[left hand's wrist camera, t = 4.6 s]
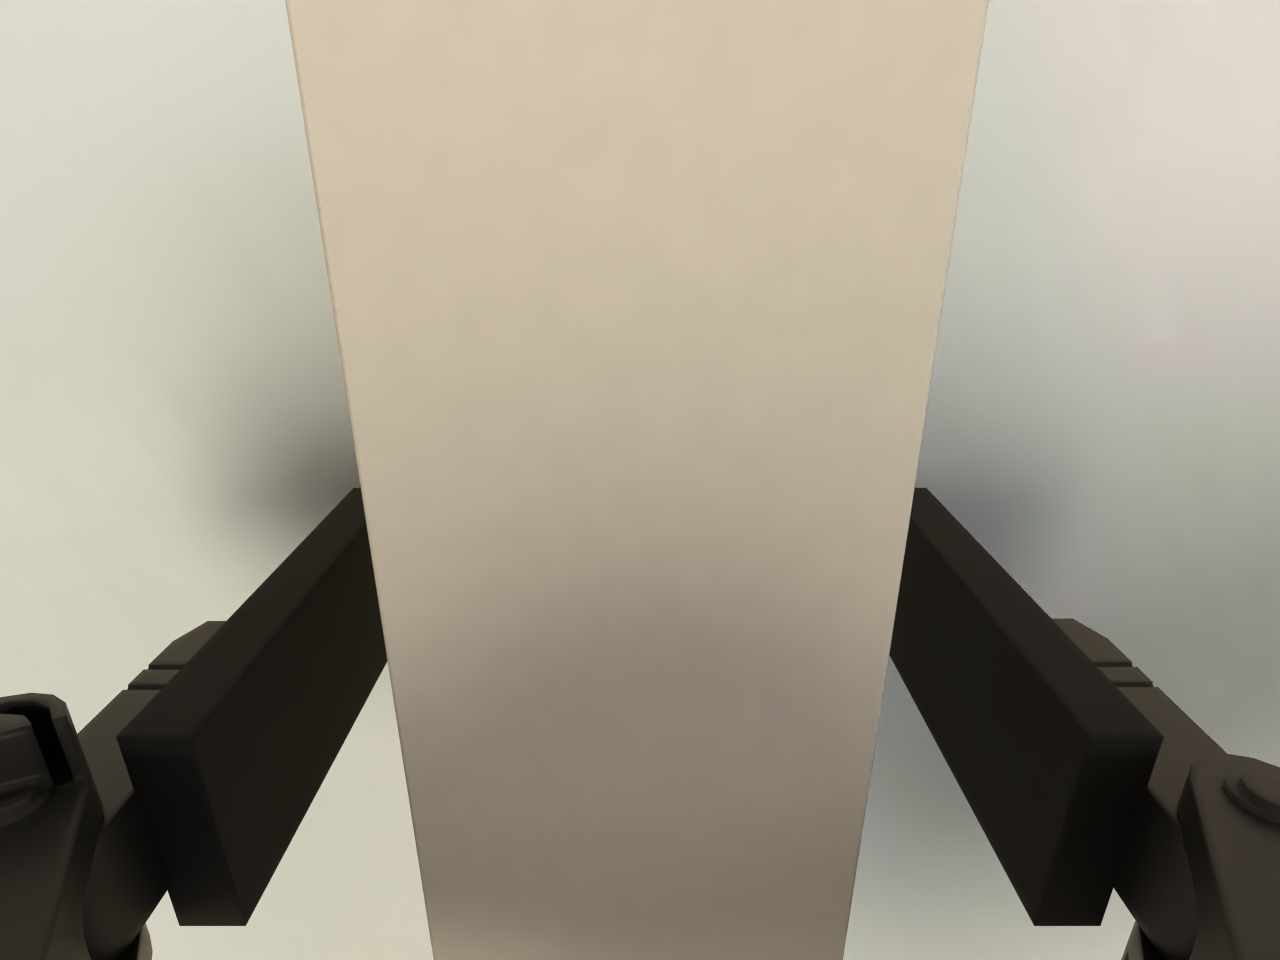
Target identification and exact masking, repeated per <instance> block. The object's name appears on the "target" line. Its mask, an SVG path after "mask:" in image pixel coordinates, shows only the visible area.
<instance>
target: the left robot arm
mask: <svg viewBox="0 0 1280 960" xmlns="http://www.w3.org/2000/svg"><path fill="white" fill-rule="evenodd" d="M889 655H890V657H891V659H892V661H893V663H894V664H895V666H896V668H897V670H898V672H899V674H900V676H901V677H902V679H903V681H904V683H905V685H906V687H907V689H908V691H909V692H910V694H911V696H912V698H913V700H914V702H915V704H916V706H917V707H918V709H919V711H920V713H921V715H922V717H923V719H924V720H925V722H926V724H927V726H928V728H929V730H930V732H931V734H932V735H933V737H934V739H935V741H936V743H937V745H938V747H939V748H940V750H941V752H942V754H943V756H944V758H945V760H946V762H947V763H948V765H949V767H950V769H951V771H952V773H953V775H954V777H955V778H956V780H957V782H958V784H959V786H960V788H961V790H962V791H963V793H964V795H965V797H966V799H967V801H968V803H969V805H970V806H971V808H972V810H973V812H974V814H975V816H976V818H977V819H978V821H979V823H980V825H981V827H982V829H983V831H984V833H985V834H986V836H987V838H988V840H989V842H990V844H991V846H992V848H993V849H994V851H995V853H996V855H997V857H998V859H999V861H1000V862H1001V864H1002V866H1003V868H1004V870H1005V872H1006V874H1007V876H1008V877H1009V879H1010V881H1011V883H1012V885H1013V887H1014V889H1015V890H1016V892H1017V894H1018V896H1019V898H1020V900H1021V902H1022V904H1023V905H1024V907H1025V909H1026V911H1027V913H1028V915H1029V917H1030V919H1031V920H1032V922H1033V924H1034V926H1100V925H1101V922H1102V919H1103V916H1104V913H1105V911H1106V908H1107V905H1108V902H1109V899H1110V896H1111V893H1112V890H1113V887H1114V889H1115V890H1116V892H1117V893H1118V895H1119V896H1120V898H1121V899H1122V901H1123V902H1124V904H1125V905H1126V907H1127V908H1128V909H1129V911H1130V912H1131V914H1132V915H1133V917H1134V918H1135V920H1136V921H1135V923H1134V926H1133V929H1132V932H1131V934H1130V937H1129V940H1128V943H1127V946H1126V948H1125V951H1124V954H1123V957H1122V959H1121V960H1280V768H1279V767H1277V766H1274V765H1271V764H1268V763H1265V762H1262V761H1260V760H1257V759H1254V758H1249V757H1243V756H1237V755H1231V754H1227V753H1226V752H1225V751H1224V750H1223V749H1222V748H1221V747H1219V746H1218V745H1217V744H1216V743H1215V742H1214V741H1213V740H1212V739H1211V738H1210V737H1209V736H1208V735H1207V734H1206V733H1205V732H1204V731H1203V730H1202V729H1201V728H1200V727H1199V726H1198V725H1197V724H1196V723H1195V722H1193V721H1192V720H1191V719H1190V718H1189V717H1188V716H1187V715H1186V714H1185V713H1184V712H1183V711H1182V710H1181V709H1180V708H1179V707H1178V706H1177V705H1176V704H1175V703H1174V702H1173V701H1172V700H1171V699H1170V698H1169V697H1168V696H1166V695H1165V694H1164V693H1163V692H1162V691H1161V690H1160V689H1159V688H1158V687H1153V682H1152V681H1151V680H1150V679H1149V678H1148V677H1147V676H1146V675H1145V674H1144V673H1143V672H1142V671H1140V670H1139V669H1138V668H1137V667H1133V666H1132V662H1131V661H1130V660H1129V659H1128V658H1127V657H1126V656H1125V655H1124V654H1123V653H1122V652H1121V651H1120V650H1119V649H1118V648H1117V647H1116V646H1115V645H1113V644H1112V643H1111V642H1110V641H1109V640H1108V639H1107V638H1105V637H1104V636H1102V635H1100V634H1098V633H1097V632H1095V631H1093V630H1091V629H1090V628H1088V627H1086V626H1084V625H1083V624H1081V623H1079V622H1077V621H1076V620H1074V619H1051V618H1050V617H1049V616H1048V615H1047V614H1046V613H1045V612H1044V611H1043V610H1042V609H1041V608H1040V606H1039V605H1038V604H1037V603H1036V602H1035V601H1034V600H1033V599H1032V598H1031V597H1030V596H1029V595H1028V594H1027V593H1026V592H1025V591H1024V590H1023V589H1022V588H1021V587H1020V586H1019V585H1018V583H1017V582H1016V581H1015V580H1014V579H1013V578H1012V577H1011V576H1010V575H1009V574H1008V573H1007V572H1006V571H1005V570H1004V569H1003V568H1002V567H1001V566H1000V565H999V564H998V563H997V562H996V560H995V559H994V558H993V557H992V556H991V555H990V554H989V553H988V552H987V551H986V550H985V549H984V548H983V547H982V546H981V545H980V544H979V543H978V542H977V541H976V540H975V539H974V537H973V536H972V535H971V534H970V533H969V532H968V531H967V530H966V529H965V528H964V527H963V526H962V525H961V524H960V523H959V522H958V521H957V520H956V519H955V518H954V517H953V516H952V514H951V513H950V512H949V511H948V510H947V509H946V508H945V507H944V506H943V505H942V504H941V503H940V502H939V501H938V500H937V499H936V498H935V497H934V496H933V495H932V494H931V493H930V491H929V490H928V489H927V488H914V494H913V501H912V507H911V514H910V521H909V527H908V534H907V540H906V547H905V553H904V560H903V567H902V573H901V580H900V586H899V593H898V599H897V606H896V613H895V619H894V626H893V632H892V639H891V645H890V652H889ZM387 661H388V660H387V653H386V647H385V640H384V634H383V627H382V621H381V615H380V608H379V602H378V595H377V589H376V582H375V576H374V569H373V563H372V556H371V550H370V543H369V537H368V531H367V524H366V518H365V511H364V505H363V498H362V492H361V488H353V489H352V490H351V491H350V493H349V494H348V495H347V496H346V497H345V498H344V499H343V500H342V501H341V502H340V503H339V504H338V505H337V506H336V507H335V508H334V509H333V510H332V511H331V512H330V513H329V514H328V516H327V517H326V518H325V519H324V520H323V521H322V522H321V523H320V524H319V525H318V526H317V527H316V528H315V529H314V530H313V531H312V532H311V533H310V534H309V535H308V536H307V537H306V539H305V540H304V541H303V542H302V543H301V544H300V545H299V546H298V547H297V548H296V549H295V550H294V551H293V552H292V553H291V554H290V555H289V556H288V557H287V558H286V559H285V560H284V562H283V563H282V564H281V565H280V566H279V567H278V568H277V569H276V570H275V571H274V572H273V573H272V574H271V575H270V576H269V577H268V578H267V579H266V580H265V581H264V582H263V583H262V585H261V586H260V587H259V588H258V589H257V590H256V591H255V592H254V593H253V594H252V595H251V596H250V597H249V598H248V599H247V600H246V601H245V602H244V603H243V604H242V605H241V606H240V608H239V609H238V610H237V611H236V612H235V613H234V614H233V615H232V616H231V617H230V618H229V619H228V620H227V621H207V622H206V623H204V624H202V625H200V626H199V627H197V628H195V629H194V630H192V631H190V632H188V633H187V634H185V635H183V636H181V637H180V638H178V639H176V640H175V641H173V642H172V643H171V644H170V645H169V646H168V647H167V648H166V649H165V650H164V651H163V652H162V653H161V654H160V655H158V656H157V657H156V658H155V659H154V660H153V661H152V662H151V663H150V664H149V668H148V670H143V671H142V672H141V673H140V674H139V675H138V676H137V677H136V678H135V679H134V680H133V681H132V682H131V683H130V684H129V685H128V689H127V690H122V691H121V692H120V693H119V694H118V695H117V696H116V697H115V698H114V699H113V700H112V701H111V702H110V703H109V704H108V705H107V706H106V707H105V708H104V709H103V710H102V711H101V712H100V713H99V714H98V715H97V716H96V717H94V718H93V719H92V720H91V721H90V722H89V723H88V724H87V725H86V726H85V727H84V728H83V729H82V730H81V731H80V732H79V733H78V734H77V733H76V730H75V727H74V725H73V722H72V719H71V716H70V714H69V711H68V708H67V705H66V703H65V702H64V701H62V700H61V699H59V698H57V697H56V696H54V695H50V694H38V693H27V694H20V695H13V696H7V697H1V698H0V960H152V946H151V940H150V934H149V932H148V929H147V926H146V923H145V922H146V921H147V919H148V918H149V917H150V915H151V914H152V912H153V911H154V909H155V908H156V906H157V905H158V903H159V902H160V900H161V899H162V897H163V896H164V894H165V893H166V891H167V890H168V893H169V896H170V899H171V902H172V905H173V907H174V910H175V913H176V916H177V919H178V922H179V925H180V926H246V924H247V922H248V920H249V919H250V917H251V915H252V913H253V911H254V909H255V907H256V905H257V904H258V902H259V900H260V898H261V896H262V894H263V892H264V891H265V889H266V887H267V885H268V883H269V881H270V879H271V877H272V876H273V874H274V872H275V870H276V868H277V866H278V864H279V862H280V861H281V859H282V857H283V855H284V853H285V851H286V849H287V848H288V846H289V844H290V842H291V840H292V838H293V836H294V834H295V833H296V831H297V829H298V827H299V825H300V823H301V821H302V820H303V818H304V816H305V814H306V812H307V810H308V808H309V806H310V805H311V803H312V801H313V799H314V797H315V795H316V793H317V791H318V790H319V788H320V786H321V784H322V782H323V780H324V778H325V777H326V775H327V773H328V771H329V769H330V767H331V765H332V763H333V762H334V760H335V758H336V756H337V754H338V752H339V750H340V749H341V747H342V745H343V743H344V741H345V739H346V737H347V735H348V734H349V732H350V730H351V728H352V726H353V724H354V722H355V720H356V719H357V717H358V715H359V713H360V711H361V709H362V707H363V706H364V704H365V702H366V700H367V698H368V696H369V694H370V692H371V691H372V689H373V687H374V685H375V683H376V681H377V679H378V678H379V676H380V674H381V672H382V670H383V668H384V666H385V664H386V663H387Z"/></svg>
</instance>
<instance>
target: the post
mask: <svg viewBox="0 0 1280 960" xmlns="http://www.w3.org/2000/svg"><path fill="white" fill-rule="evenodd" d="M285 1H286V7H287V14H288V20H289V27H290V33H291V39H292V46H293V52H294V59H295V65H296V72H297V78H298V85H299V91H300V98H301V104H302V111H303V117H304V123H305V130H306V136H307V143H308V149H309V156H310V162H311V169H312V175H313V182H314V188H315V195H316V201H317V207H318V214H319V220H320V227H321V233H322V240H323V246H324V253H325V259H326V266H327V272H328V279H329V285H330V291H331V298H332V304H333V311H334V317H335V324H336V330H337V337H338V343H339V350H340V356H341V363H342V369H343V375H344V382H345V388H346V395H347V401H348V408H349V414H350V421H351V427H352V434H353V440H354V447H355V453H356V459H357V466H358V472H359V479H360V485H361V492H362V498H363V505H364V511H365V518H366V524H367V531H368V537H369V543H370V550H371V556H372V563H373V569H374V576H375V582H376V589H377V595H378V602H379V608H380V615H381V621H382V627H383V634H384V640H385V647H386V653H387V660H388V666H389V673H390V679H391V686H392V692H393V699H394V705H395V711H396V718H397V724H398V731H399V737H400V744H401V750H402V757H403V763H404V770H405V776H406V783H407V789H408V795H409V802H410V808H411V815H412V821H413V828H414V834H415V841H416V847H417V854H418V860H419V867H420V873H421V879H422V886H423V892H424V899H425V905H426V912H427V918H428V925H429V931H430V938H431V944H432V951H433V957H434V960H843V954H844V948H845V941H846V935H847V928H848V921H849V915H850V908H851V902H852V895H853V889H854V882H855V875H856V869H857V862H858V856H859V849H860V843H861V836H862V829H863V823H864V816H865V810H866V803H867V797H868V790H869V783H870V777H871V770H872V764H873V757H874V751H875V744H876V737H877V731H878V724H879V718H880V711H881V705H882V698H883V691H884V685H885V678H886V672H887V665H888V659H889V652H890V645H891V639H892V632H893V626H894V619H895V613H896V606H897V599H898V593H899V586H900V580H901V573H902V567H903V560H904V553H905V547H906V540H907V534H908V527H909V521H910V514H911V507H912V501H913V494H914V488H915V481H916V475H917V468H918V461H919V455H920V448H921V442H922V435H923V429H924V422H925V415H926V409H927V402H928V396H929V389H930V383H931V376H932V369H933V363H934V356H935V350H936V343H937V337H938V330H939V323H940V317H941V310H942V304H943V297H944V291H945V284H946V277H947V271H948V264H949V258H950V251H951V245H952V238H953V231H954V225H955V218H956V212H957V205H958V199H959V192H960V185H961V179H962V172H963V166H964V159H965V153H966V146H967V139H968V133H969V126H970V120H971V113H972V107H973V100H974V93H975V87H976V80H977V74H978V67H979V61H980V54H981V47H982V41H983V34H984V28H985V21H986V15H987V8H988V1H989V0H285Z"/></svg>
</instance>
